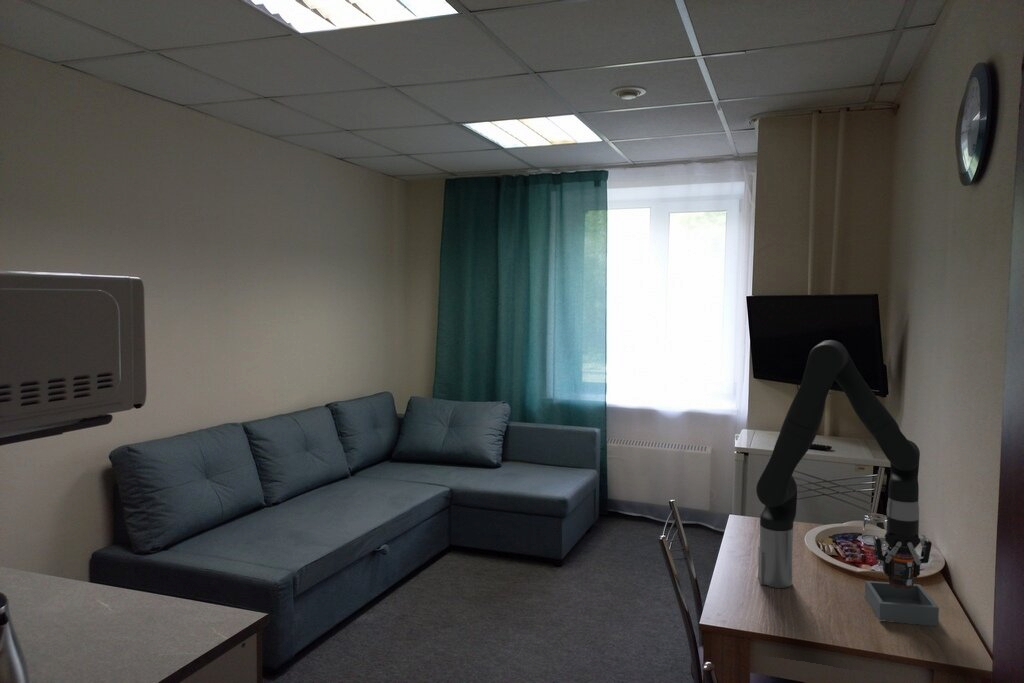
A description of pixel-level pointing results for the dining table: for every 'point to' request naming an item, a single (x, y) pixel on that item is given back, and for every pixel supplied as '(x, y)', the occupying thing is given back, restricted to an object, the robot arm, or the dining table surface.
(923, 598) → the grey bin
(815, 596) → the dining table surface
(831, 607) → the dining table surface
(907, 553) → the supplement bottle
